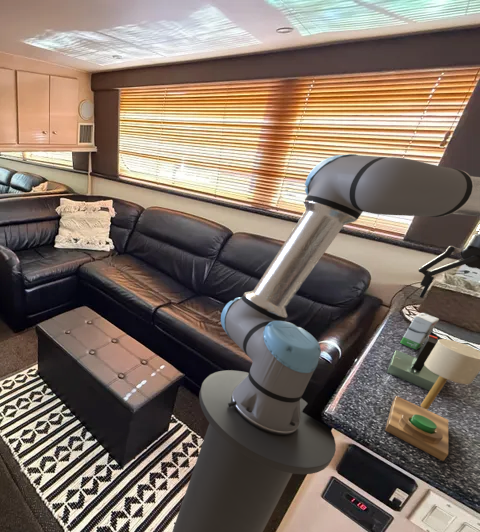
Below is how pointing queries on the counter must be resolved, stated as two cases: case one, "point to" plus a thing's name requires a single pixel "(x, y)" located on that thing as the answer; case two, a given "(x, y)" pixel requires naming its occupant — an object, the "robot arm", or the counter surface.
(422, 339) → the ink box
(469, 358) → the lamp
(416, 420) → the lamp button
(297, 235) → the robot arm
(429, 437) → the lamp base
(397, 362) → the dimmer
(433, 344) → the black thin upright slab
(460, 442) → the counter surface
